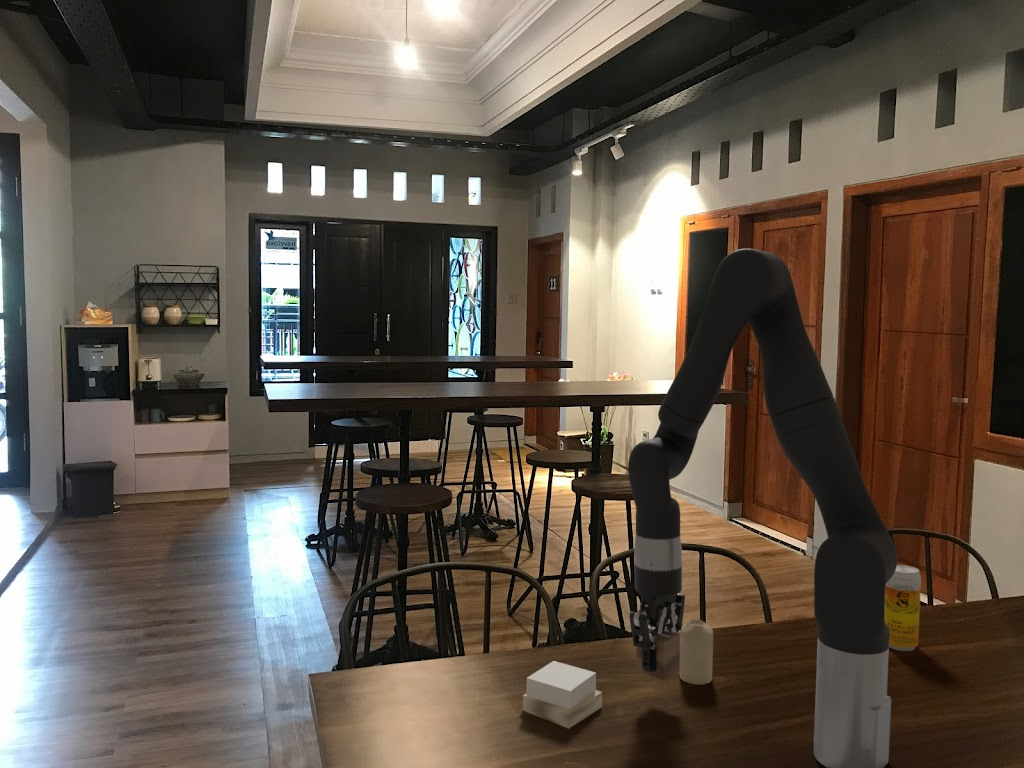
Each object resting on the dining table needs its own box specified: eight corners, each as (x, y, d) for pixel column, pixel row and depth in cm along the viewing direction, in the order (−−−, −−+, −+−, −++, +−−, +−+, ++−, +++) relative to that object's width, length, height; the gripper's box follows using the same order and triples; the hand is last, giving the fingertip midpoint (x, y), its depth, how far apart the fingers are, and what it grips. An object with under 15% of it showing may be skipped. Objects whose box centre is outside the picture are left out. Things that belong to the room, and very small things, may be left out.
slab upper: (595, 690, 133) (596, 672, 133) (570, 710, 127) (570, 691, 127) (553, 678, 138) (553, 660, 138) (526, 696, 131) (526, 677, 131)
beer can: (884, 650, 156) (888, 572, 155) (880, 638, 162) (883, 562, 161) (920, 654, 154) (924, 575, 153) (914, 641, 160) (918, 565, 159)
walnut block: (679, 669, 135) (679, 633, 134) (664, 680, 131) (664, 642, 131) (652, 661, 138) (652, 626, 138) (636, 671, 134) (636, 635, 134)
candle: (712, 686, 141) (714, 629, 140) (679, 683, 142) (680, 626, 141) (711, 672, 146) (712, 617, 145) (679, 670, 147) (680, 615, 146)
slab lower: (601, 710, 133) (602, 692, 133) (568, 731, 126) (568, 712, 126) (556, 693, 139) (557, 676, 139) (522, 713, 132) (522, 695, 132)
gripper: (655, 576, 125) (656, 686, 127) (700, 555, 136) (700, 656, 138) (613, 568, 130) (614, 673, 131) (659, 548, 141) (660, 646, 142)
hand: (658, 664), depth 134 cm, fingers closed on walnut block, 5 cm apart
